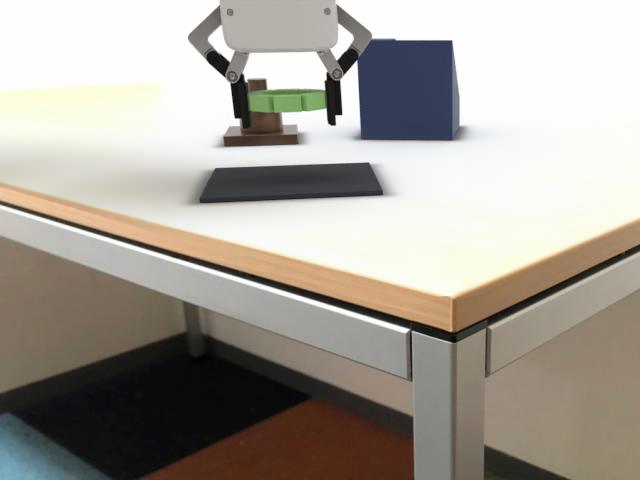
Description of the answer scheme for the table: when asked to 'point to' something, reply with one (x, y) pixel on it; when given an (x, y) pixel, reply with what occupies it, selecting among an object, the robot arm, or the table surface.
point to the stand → (261, 126)
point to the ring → (287, 100)
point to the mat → (291, 182)
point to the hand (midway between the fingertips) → (289, 123)
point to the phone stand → (408, 90)
